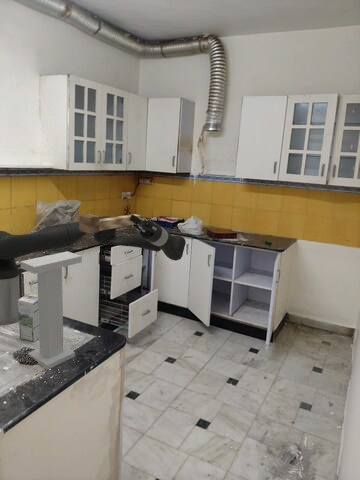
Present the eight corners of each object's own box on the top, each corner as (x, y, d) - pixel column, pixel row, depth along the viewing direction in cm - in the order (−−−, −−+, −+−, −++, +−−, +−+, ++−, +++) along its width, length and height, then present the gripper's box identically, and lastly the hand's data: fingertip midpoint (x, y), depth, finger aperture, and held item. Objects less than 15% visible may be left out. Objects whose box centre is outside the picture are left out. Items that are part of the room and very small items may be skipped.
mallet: (132, 221, 141) (132, 208, 139) (142, 223, 138) (142, 210, 136) (79, 230, 122) (79, 215, 121) (89, 233, 119) (89, 217, 118)
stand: (66, 341, 129) (64, 250, 122) (85, 351, 124) (84, 257, 116) (22, 359, 117) (17, 260, 109) (41, 372, 111) (37, 268, 104)
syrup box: (44, 334, 133) (43, 295, 129) (33, 342, 127) (32, 302, 124) (30, 331, 134) (28, 293, 131) (19, 339, 129) (17, 299, 125)
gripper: (164, 246, 144) (138, 229, 130) (137, 239, 152) (109, 222, 138) (172, 228, 145) (146, 209, 131) (144, 222, 153) (117, 203, 139)
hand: (127, 216), depth 135 cm, fingers closed on mallet, 3 cm apart
